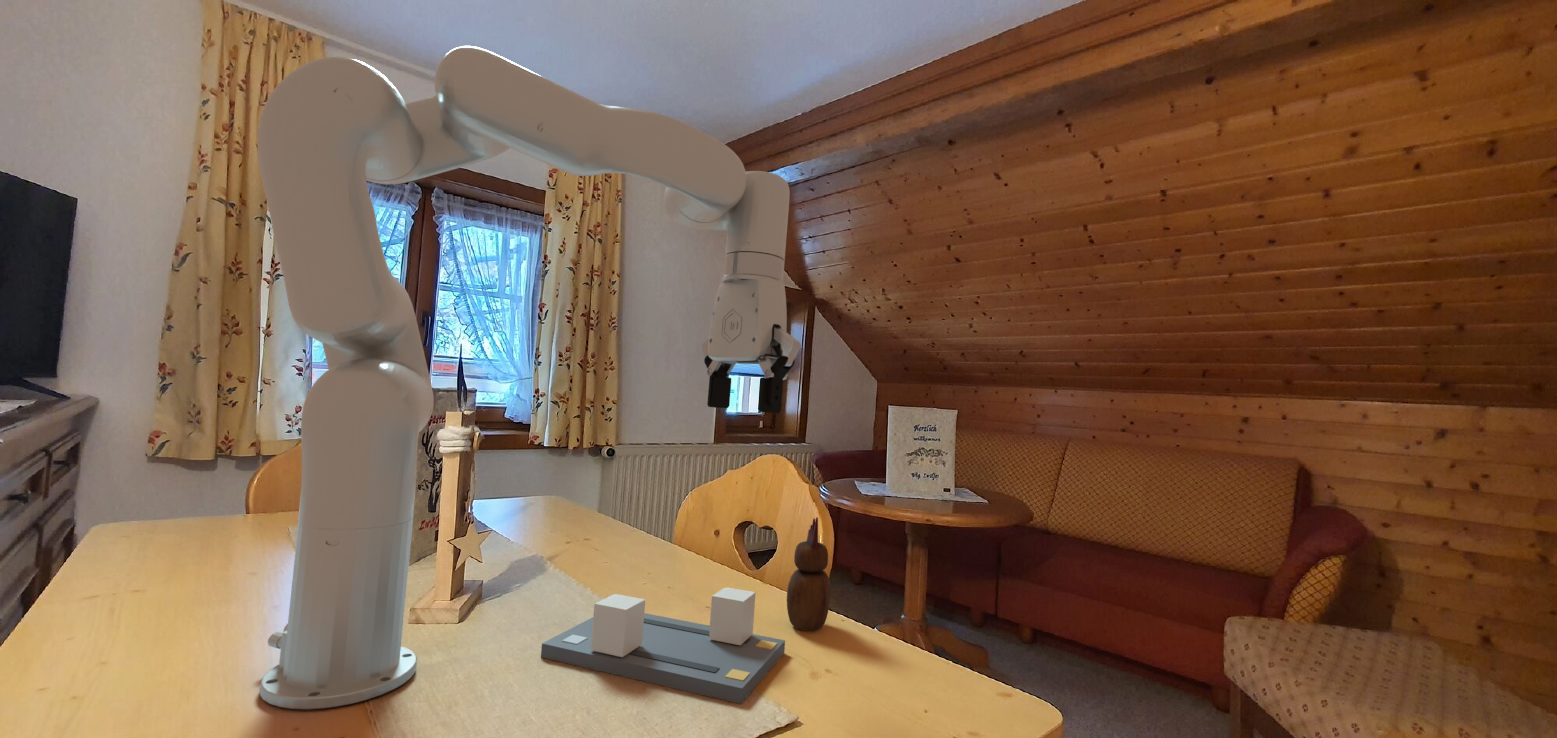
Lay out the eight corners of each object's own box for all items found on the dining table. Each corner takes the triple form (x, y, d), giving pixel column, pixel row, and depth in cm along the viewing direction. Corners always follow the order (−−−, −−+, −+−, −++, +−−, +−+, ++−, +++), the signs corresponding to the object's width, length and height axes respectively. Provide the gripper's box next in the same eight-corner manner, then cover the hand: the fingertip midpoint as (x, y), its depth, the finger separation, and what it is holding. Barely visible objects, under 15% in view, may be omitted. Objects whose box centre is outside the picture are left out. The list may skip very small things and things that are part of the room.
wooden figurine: (824, 638, 81) (832, 521, 82) (781, 632, 82) (788, 516, 83) (831, 621, 88) (837, 512, 89) (790, 615, 89) (797, 508, 90)
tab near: (590, 650, 69) (594, 603, 69) (611, 637, 72) (614, 593, 73) (622, 657, 67) (626, 609, 68) (641, 644, 71) (645, 599, 71)
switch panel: (540, 657, 70) (542, 642, 70) (611, 618, 83) (612, 606, 83) (741, 703, 62) (742, 687, 62) (784, 652, 76) (785, 639, 76)
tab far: (708, 639, 74) (711, 595, 74) (722, 628, 78) (725, 587, 78) (740, 645, 73) (743, 601, 73) (752, 633, 76) (755, 592, 77)
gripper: (688, 274, 83) (677, 404, 82) (779, 259, 70) (767, 413, 69) (732, 284, 88) (722, 407, 87) (824, 273, 75) (814, 416, 74)
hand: (742, 409), depth 78 cm, fingers open, 9 cm apart
